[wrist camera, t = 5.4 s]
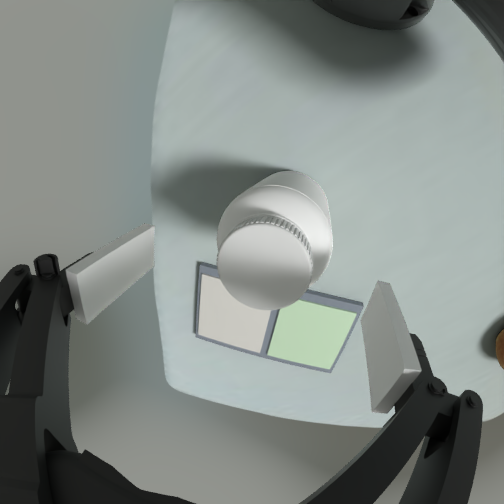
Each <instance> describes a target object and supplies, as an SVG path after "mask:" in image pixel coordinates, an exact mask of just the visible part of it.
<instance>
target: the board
mask: <svg viewBox="0 0 504 504" xmlns="http://www.w3.org/2000/svg"><path fill="white" fill-rule="evenodd" d="M362 309H363V303H362V302H358V301H353V300H349V299H345V298H341V297H336V296H332V295H328V294H324V293H320V292H316V291H312V290H308V289H307V291H306V292H305V294H304V295H302V297H301V298H300V299H298V301H296V302H295V303H293V304H291V305H290V306H287V307H285V308H282V309H277V310H259V309H255V308H251V307H249V306H246V305H244V304H242V303H241V302H239V301H238V300H236V299H235V298H234V297H233V296H232V295H231V294H230V293H229V292H228V291H227V290H226V288H225V287H224V285H223V284H222V282H221V279H220V277H219V274H218V270H217V266H215V265H211V264H207V263H204V262H202V263H201V264H200V268H199V282H198V298H197V317H196V337H197V338H200V339H203V340H206V341H209V342H212V343H215V344H218V345H221V346H225V347H228V348H231V349H235V350H238V351H241V352H245V353H248V354H252V355H256V356H259V357H263V358H267V359H271V360H274V361H278V362H282V363H287V364H291V365H295V366H299V367H304V368H308V369H313V370H318V371H322V372H327V373H331V372H332V370H333V368H334V366H335V364H336V363H337V361H338V359H339V357H340V355H341V353H342V351H343V349H344V347H345V345H346V343H347V341H348V339H349V337H350V335H351V333H352V331H353V329H354V326H355V324H356V322H357V320H358V318H359V315H360V313H361V311H362Z"/></svg>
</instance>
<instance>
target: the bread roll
mask: <svg viewBox="0 0 504 504" xmlns="http://www.w3.org/2000/svg"><path fill="white" fill-rule="evenodd" d="M496 356H497V359H498V361H499V364H500V366H501V367H502V368H503V369H504V329H503V330H502V331H501V332H500V333H499V334H498V336H497V338H496Z"/></svg>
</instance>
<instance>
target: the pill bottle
mask: <svg viewBox="0 0 504 504" xmlns="http://www.w3.org/2000/svg"><path fill="white" fill-rule="evenodd" d="M217 247H218V254H217V257H218V258H217V270H218V274H219V277H220V279H221V282H222V284H223V285H224V287H225V288H226V290H227V291H228V292H229V293H230V294H231V295H232V296H233V297H234V298H235V299H236V300H238V301H239V302H241V303H242V304H244V305H246V306H249V307H251V308H255V309H259V310H277V309H282V308H285V307H287V306H290V305H291V304H293V303H295V302H296V301H298V299H300V298H301V297H302V295H304V294H305V292H306V291H307V288H309V287H310V286H311V285H313V284H314V283H315V282H316V281H317V280H318V279H319V278H320V277H321V275H322V274H323V273H324V271H325V270H326V268H327V266H328V264H329V261H330V258H331V254H332V248H333V236H332V228H331V220H330V213H329V206H328V201H327V198H326V195H325V193H324V191H323V190H322V188H321V187H320V185H319V184H318V183H317V182H316V181H315V180H313V179H312V178H311V177H309V176H307V175H305V174H303V173H300V172H295V171H281V172H277V173H274V174H272V175H270V176H268V177H267V178H265V179H263V180H262V181H260V182H258V183H257V184H255V185H254V186H252V187H250V188H249V189H247V190H246V191H244V192H242V193H241V194H240V195H238V196H237V197H236V198H235V199H234V200H233V201H232V202H231V203H230V204H229V205H228V206H227V208H226V209H225V211H224V212H223V214H222V217H221V219H220V222H219V226H218V231H217Z"/></svg>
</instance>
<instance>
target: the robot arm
mask: <svg viewBox="0 0 504 504" xmlns="http://www.w3.org/2000/svg"><path fill="white" fill-rule="evenodd" d="M313 1H314V2H315V3H317V4H318V5H319V6H321V7H322V8H323V9H325V10H326V11H328V12H330V13H332V14H333V15H335V16H337V17H339V18H342V19H344V20H346V21H349V22H352V23H355V24H358V25H361V26H365V27H369V28H375V29H383V30H396V29H404V28H408V27H411V26H413V25H415V24H417V23H419V22H420V21H421V20H422V19H423V18H424V17H425V16H426V15H427V14H428V12H429V11H430V10H431V8H432V5H433V3H434V0H313ZM452 1H453V2H454V3H455V4H456V5H457V6H458V7H459V8H460V9H461V10H462V11H463V12H464V13H465V14H466V15H467V16H468V18H469V19H470V20H471V21H472V22H473V23H474V24H475V25H476V27H477V28H478V29H479V30H480V31H481V33H482V34H483V35H484V36H485V38H486V39H487V40H488V41H489V43H490V44H491V45H492V47H493V48H494V49H495V51H496V52H497V53H498V55H499V56H500V58H501V59H502V61H503V62H504V0H452ZM154 235H155V226H153V225H149V224H145V223H144V224H142V225H141V226H139V227H137V228H135V229H133V230H132V231H130V232H128V233H126V234H124V235H123V236H121V237H119V238H117V239H116V240H114V241H112V242H110V243H109V244H107V245H105V246H103V247H102V248H100V249H98V250H97V251H95V252H92V253H89V254H87V255H85V256H84V257H82V258H81V259H79V260H77V261H76V262H74V263H72V264H71V265H69V266H68V267H66V268H64V269H63V270H61V271H60V269H59V263H58V258H57V256H56V255H54V254H44V255H41V256H39V257H37V258H36V259H35V260H34V266H35V271H36V275H37V276H36V275H31V272H30V268H29V266H28V265H22V264H20V265H17V266H15V267H13V268H12V269H11V270H10V271H9V272H8V273H7V274H6V276H5V277H4V278H3V279H2V280H1V282H0V504H195V503H192V502H189V501H187V500H183V499H181V498H178V497H174V496H168V495H162V494H158V493H153V492H148V491H144V490H141V489H139V488H137V487H136V486H135V485H133V484H132V483H131V482H130V481H128V480H127V479H126V478H125V477H124V476H123V475H122V474H120V473H119V472H118V471H117V470H116V469H115V468H114V467H113V466H111V465H109V464H108V463H106V462H104V461H102V460H101V459H100V458H98V457H96V456H95V455H93V454H92V453H90V452H89V451H87V450H84V452H83V453H82V454H81V453H78V450H77V447H76V445H75V442H74V440H73V437H72V432H71V422H70V410H69V388H68V359H69V358H68V357H69V337H70V336H69V335H70V323H71V317H70V312H71V311H72V310H74V311H75V315H76V319H78V320H79V321H81V322H83V323H85V324H88V323H89V322H91V321H92V320H93V319H94V318H95V317H96V316H97V315H98V314H99V313H101V312H102V311H103V310H104V309H105V308H106V307H107V306H109V305H110V304H111V303H112V302H113V301H114V300H115V299H116V298H118V297H119V296H120V295H121V294H122V293H123V292H125V291H126V290H127V289H128V288H129V287H130V286H132V285H133V284H134V283H135V282H136V281H137V280H139V279H140V278H141V277H142V276H143V275H145V274H146V273H147V272H148V271H149V270H151V269H152V268H153V267H154ZM16 301H17V304H18V306H19V307H18V309H17V310H16V309H15V303H16ZM361 325H362V332H363V338H364V345H365V352H366V360H367V368H368V376H369V386H370V396H371V409H372V412H375V413H388V412H389V411H390V410H391V409H392V408H393V406H395V414H394V415H393V416H392V417H391V418H390V419H389V420H388V421H387V423H386V424H385V425H384V426H383V428H382V429H381V430H380V431H379V432H378V433H377V434H376V436H375V437H374V438H373V439H372V440H371V441H370V442H369V443H368V444H367V445H366V446H365V447H364V448H363V449H362V450H361V451H360V452H359V453H358V454H357V455H356V456H355V457H354V458H353V459H352V460H351V461H350V462H349V463H348V464H347V465H346V466H345V467H344V468H343V469H341V470H340V471H339V472H338V473H337V474H336V475H335V476H333V477H332V478H331V479H330V480H329V481H328V482H326V483H325V484H324V485H323V486H322V487H320V488H319V489H318V490H317V491H316V492H314V493H313V494H311V495H310V496H309V497H307V498H306V499H305V500H303V501H302V502H301V503H299V504H373V503H374V502H375V501H376V500H377V499H378V497H379V496H380V495H381V494H382V493H383V492H384V491H385V489H386V488H387V487H388V486H389V485H390V483H391V482H392V481H393V480H394V479H395V477H396V476H397V475H398V473H399V472H400V471H401V469H402V468H403V467H404V465H405V464H406V463H407V461H408V460H409V458H410V457H411V455H412V454H413V453H414V451H415V450H416V448H417V447H418V445H419V444H420V442H421V441H422V439H423V438H424V436H425V439H424V442H423V445H422V449H421V451H420V454H419V457H418V460H417V462H416V465H415V468H414V471H413V473H412V475H411V478H410V480H409V482H408V485H407V487H406V490H405V492H404V494H403V496H402V498H401V500H400V502H399V504H467V503H468V500H469V496H470V492H471V488H472V484H473V479H474V475H475V470H476V465H477V459H478V453H479V446H480V438H481V428H482V413H483V404H482V400H481V398H480V396H479V395H478V394H477V393H475V392H474V391H471V390H465V391H464V392H463V393H462V394H461V395H460V396H459V397H458V396H455V395H452V394H450V393H448V392H447V387H446V386H445V384H444V383H443V382H442V381H441V380H440V379H438V378H436V377H434V376H433V373H432V370H431V367H430V364H429V361H428V359H427V357H426V353H425V351H424V347H423V345H422V342H421V341H420V339H419V338H418V337H417V336H416V334H411V333H409V331H408V328H407V325H406V323H405V320H404V317H403V315H402V312H401V310H400V307H399V305H398V302H397V300H396V297H395V295H394V292H393V290H392V288H391V285H390V283H386V282H382V281H377V284H376V286H375V289H374V291H373V293H372V296H371V298H370V301H369V303H368V305H367V307H366V310H365V312H364V314H363V316H362V319H361ZM10 379H11V380H10ZM9 382H10V388H9V393H8V395H5V392H6V390H7V387H8V384H9Z"/></svg>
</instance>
